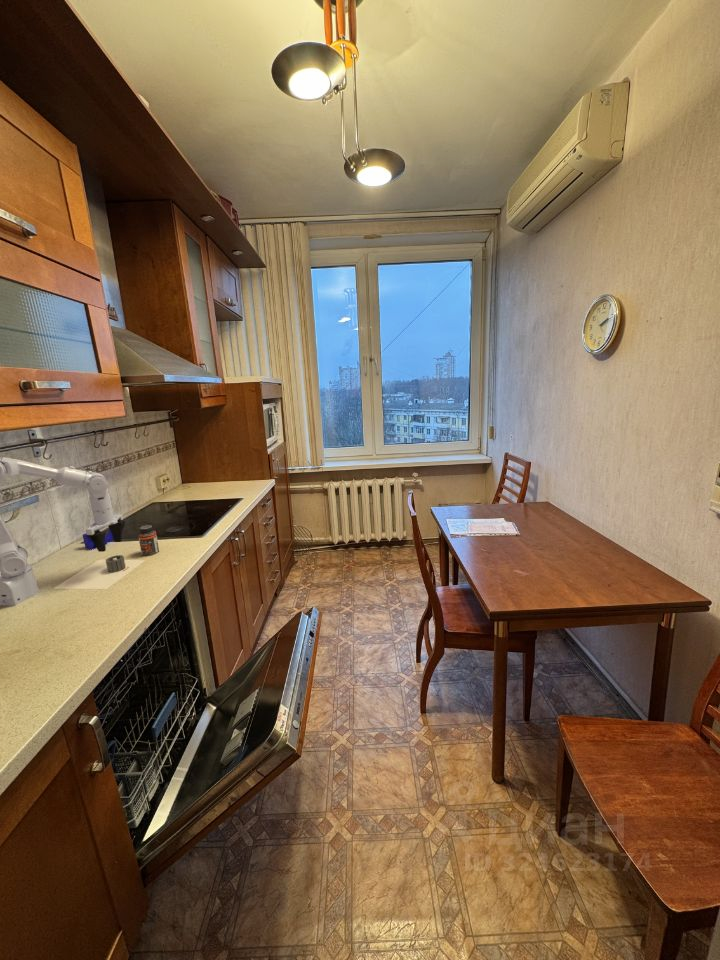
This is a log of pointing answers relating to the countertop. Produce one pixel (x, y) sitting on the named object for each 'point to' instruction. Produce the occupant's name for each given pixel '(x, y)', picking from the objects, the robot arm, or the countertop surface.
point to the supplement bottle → (148, 541)
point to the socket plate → (97, 576)
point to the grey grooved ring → (115, 564)
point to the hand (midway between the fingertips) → (110, 546)
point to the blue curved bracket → (90, 544)
